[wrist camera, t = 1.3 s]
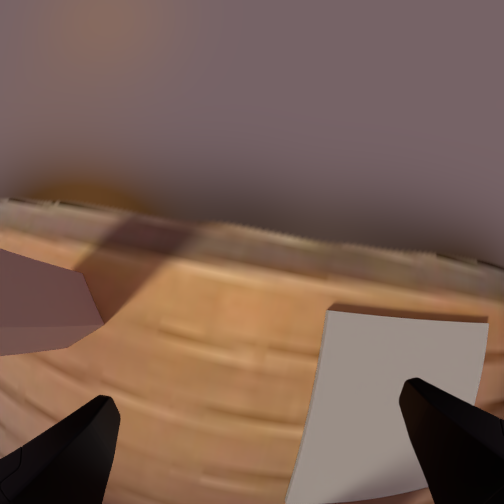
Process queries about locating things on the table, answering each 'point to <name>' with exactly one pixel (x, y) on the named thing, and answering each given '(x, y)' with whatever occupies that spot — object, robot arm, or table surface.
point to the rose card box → (42, 306)
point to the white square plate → (376, 402)
